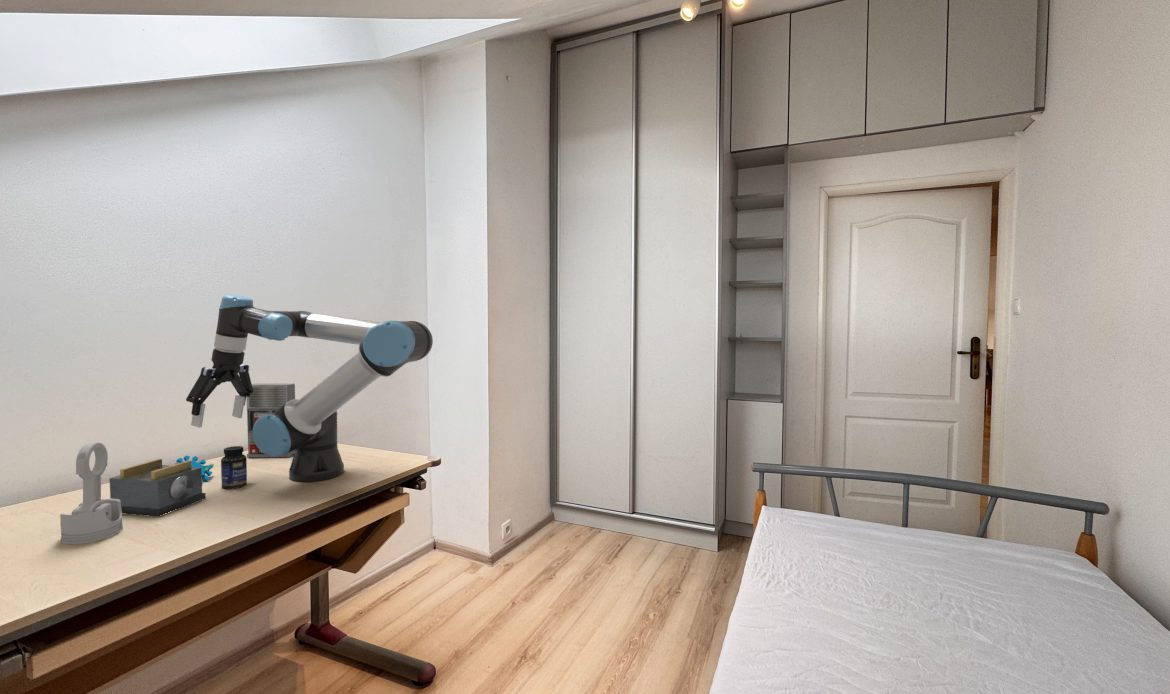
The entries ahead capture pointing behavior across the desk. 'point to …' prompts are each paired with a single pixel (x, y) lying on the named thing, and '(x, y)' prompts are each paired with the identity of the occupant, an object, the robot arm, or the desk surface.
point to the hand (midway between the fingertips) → (217, 421)
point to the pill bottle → (233, 468)
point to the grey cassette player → (266, 409)
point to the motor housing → (157, 487)
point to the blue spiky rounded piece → (198, 464)
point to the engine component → (91, 502)
